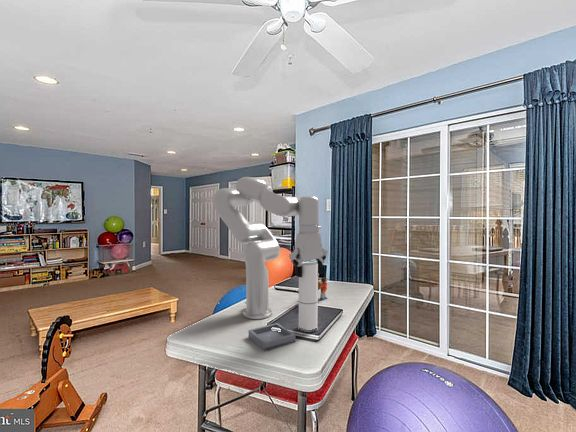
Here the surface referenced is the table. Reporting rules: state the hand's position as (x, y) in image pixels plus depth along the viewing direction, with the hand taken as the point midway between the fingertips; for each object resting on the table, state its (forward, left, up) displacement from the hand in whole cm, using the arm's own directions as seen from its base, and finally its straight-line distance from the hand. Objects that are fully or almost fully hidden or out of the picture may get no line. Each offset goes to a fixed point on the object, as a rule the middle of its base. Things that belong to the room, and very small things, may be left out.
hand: (309, 274), depth 112 cm
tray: (0, -16, -21) cm, 26 cm away
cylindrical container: (0, 0, -21) cm, 21 cm away
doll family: (-24, +21, -21) cm, 38 cm away
